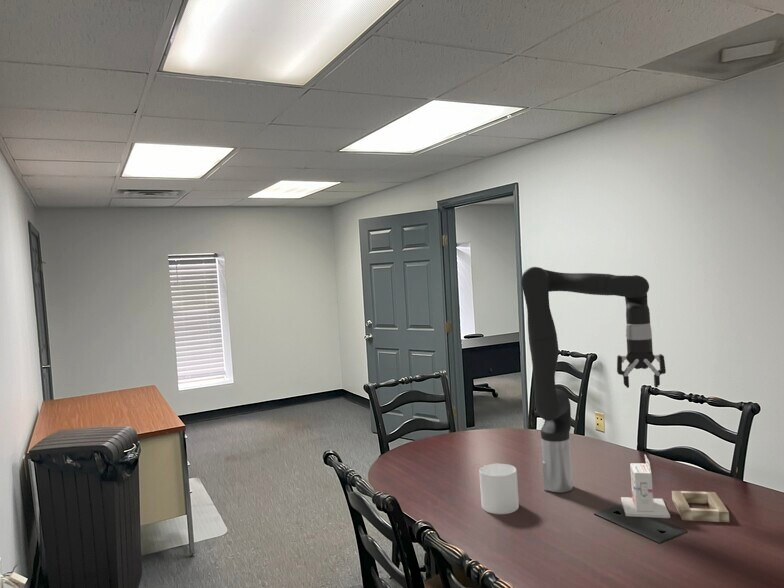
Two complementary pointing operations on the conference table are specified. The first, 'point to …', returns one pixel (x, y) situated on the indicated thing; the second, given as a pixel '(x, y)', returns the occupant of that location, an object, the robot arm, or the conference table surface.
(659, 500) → the pad
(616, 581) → the conference table surface
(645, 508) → the ink cartridge box
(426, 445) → the conference table surface
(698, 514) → the frame
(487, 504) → the cup
